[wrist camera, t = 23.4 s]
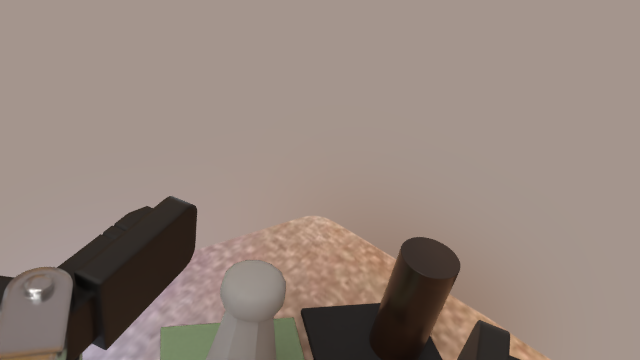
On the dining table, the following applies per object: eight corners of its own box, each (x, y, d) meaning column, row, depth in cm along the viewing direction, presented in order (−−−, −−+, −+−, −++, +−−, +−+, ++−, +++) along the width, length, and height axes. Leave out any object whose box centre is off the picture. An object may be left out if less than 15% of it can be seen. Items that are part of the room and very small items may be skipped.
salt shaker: (193, 370, 40) (202, 251, 33) (260, 354, 42) (281, 240, 35) (209, 438, 36) (223, 317, 29) (282, 416, 38) (312, 300, 31)
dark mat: (410, 304, 51) (411, 300, 51) (465, 411, 42) (467, 407, 42) (300, 312, 48) (301, 308, 47) (333, 431, 38) (335, 427, 38)
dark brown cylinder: (408, 320, 49) (443, 236, 43) (429, 363, 45) (471, 277, 39) (362, 324, 47) (392, 237, 41) (379, 369, 43) (415, 280, 37)
